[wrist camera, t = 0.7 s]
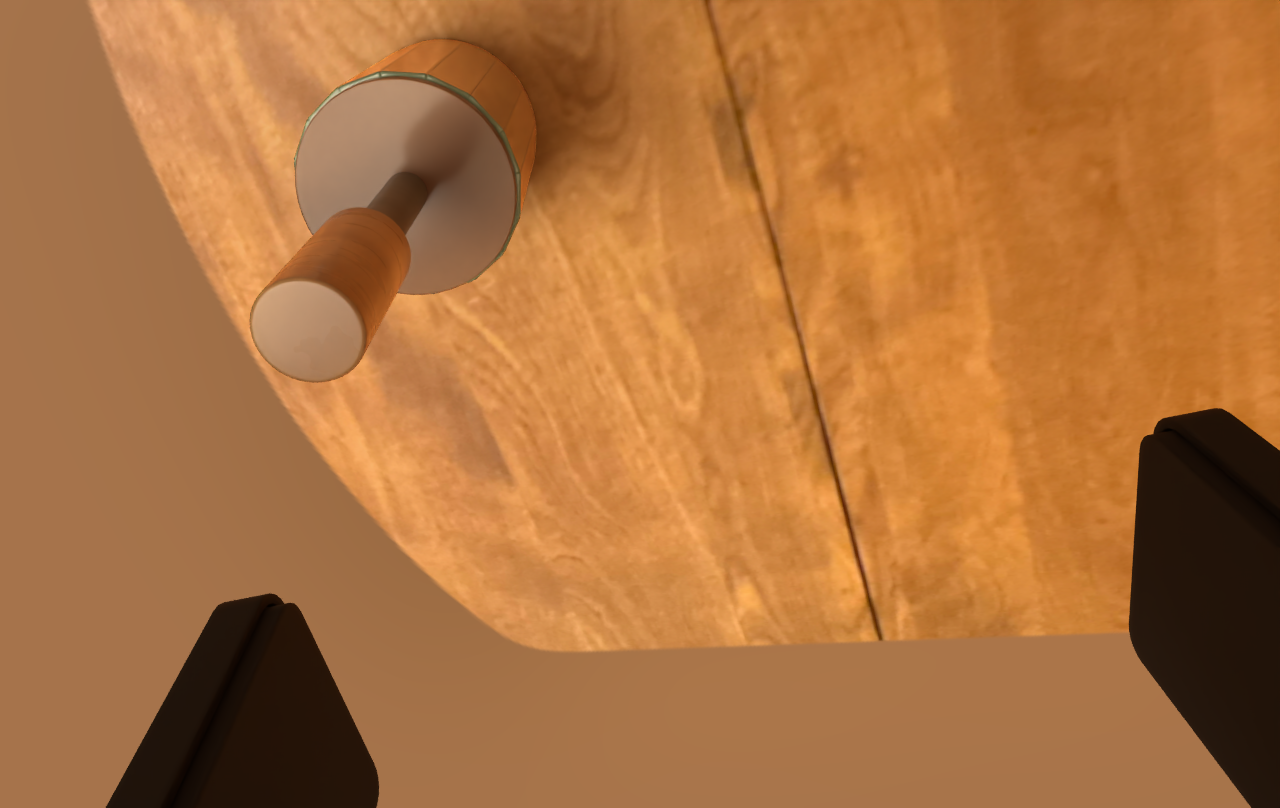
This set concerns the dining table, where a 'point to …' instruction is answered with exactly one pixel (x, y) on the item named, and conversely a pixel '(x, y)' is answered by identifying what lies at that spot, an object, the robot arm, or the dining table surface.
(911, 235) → the dining table surface
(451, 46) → the holder
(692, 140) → the dining table surface
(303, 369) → the brush
